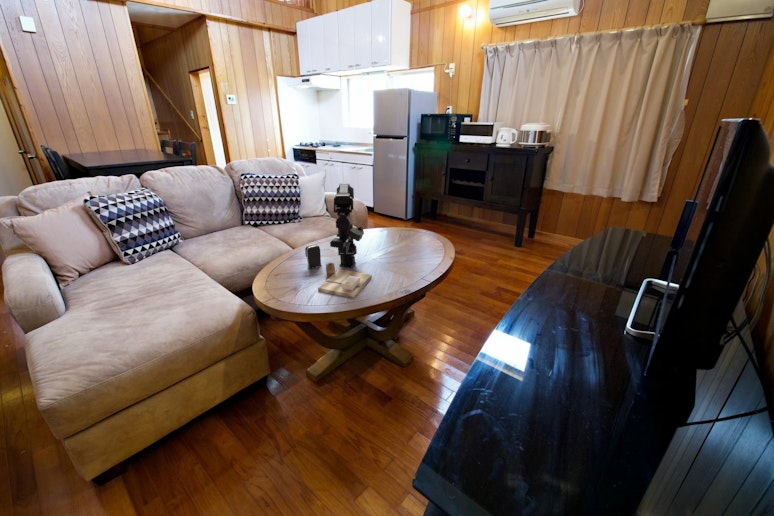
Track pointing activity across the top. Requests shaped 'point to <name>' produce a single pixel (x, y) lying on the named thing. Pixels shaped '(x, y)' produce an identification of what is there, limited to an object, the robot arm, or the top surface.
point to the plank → (335, 283)
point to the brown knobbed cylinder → (330, 269)
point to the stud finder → (350, 282)
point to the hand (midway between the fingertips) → (345, 254)
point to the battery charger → (313, 256)
